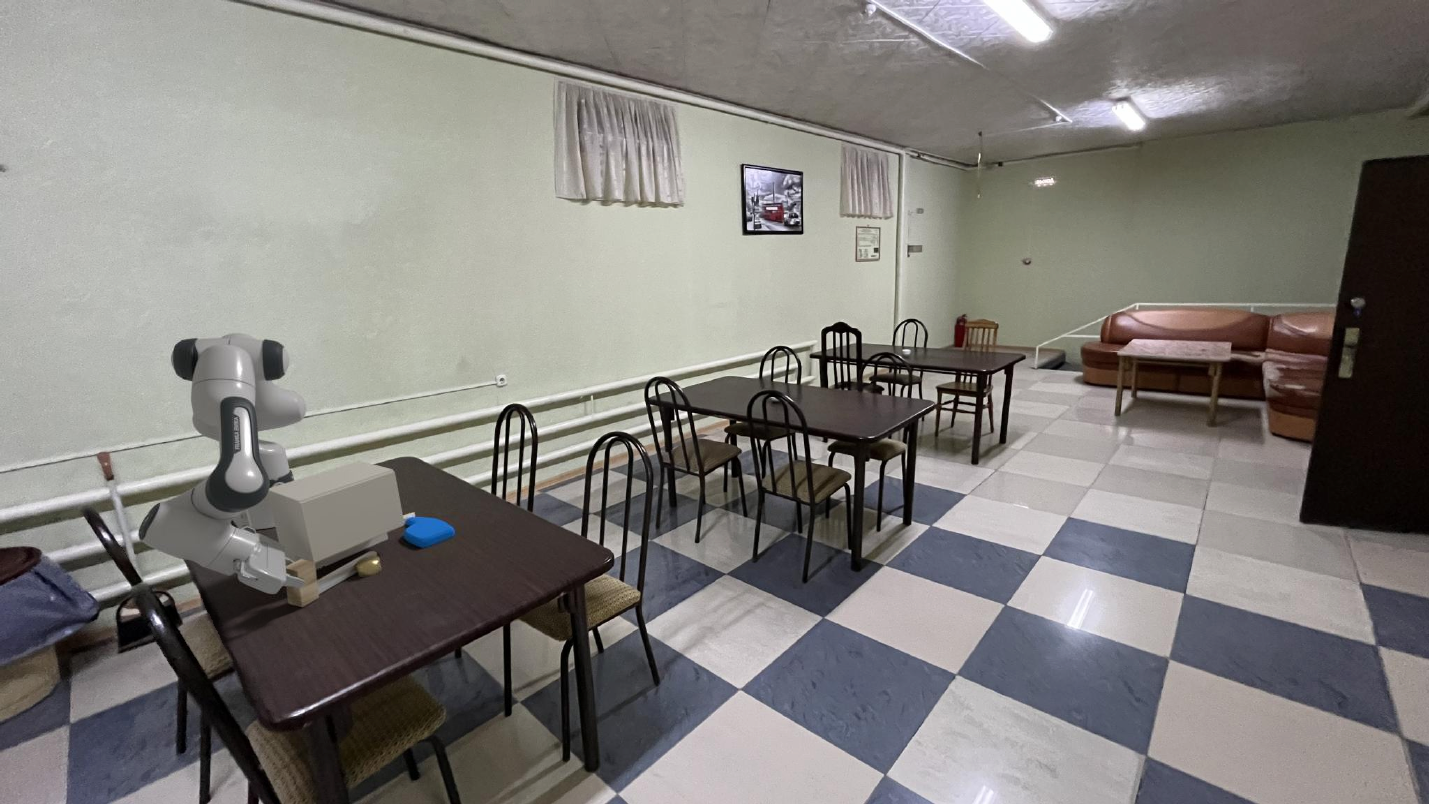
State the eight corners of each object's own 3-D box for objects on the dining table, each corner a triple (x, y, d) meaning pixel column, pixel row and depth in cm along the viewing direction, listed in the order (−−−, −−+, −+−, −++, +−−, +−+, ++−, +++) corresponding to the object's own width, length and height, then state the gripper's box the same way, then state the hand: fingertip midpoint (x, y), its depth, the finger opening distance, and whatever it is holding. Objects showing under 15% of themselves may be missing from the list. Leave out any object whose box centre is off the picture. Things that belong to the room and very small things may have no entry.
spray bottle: (457, 526, 157) (419, 506, 172) (417, 541, 149) (380, 519, 164) (459, 536, 157) (420, 515, 173) (419, 551, 149) (382, 528, 165)
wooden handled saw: (288, 603, 126) (283, 567, 124) (368, 558, 146) (365, 526, 143) (302, 607, 125) (297, 571, 123) (380, 561, 145) (377, 529, 142)
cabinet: (286, 570, 142) (266, 489, 136) (374, 533, 160) (359, 460, 155) (319, 587, 133) (299, 501, 128) (408, 546, 152) (394, 469, 146)
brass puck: (353, 575, 139) (351, 564, 138) (372, 565, 143) (370, 554, 142) (367, 578, 137) (364, 567, 136) (386, 568, 141) (383, 557, 140)
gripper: (244, 558, 111) (314, 584, 119) (247, 523, 126) (309, 548, 135) (220, 586, 109) (293, 611, 117) (226, 547, 125) (290, 571, 133)
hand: (302, 577), depth 126 cm, fingers closed on wooden handled saw, 6 cm apart
